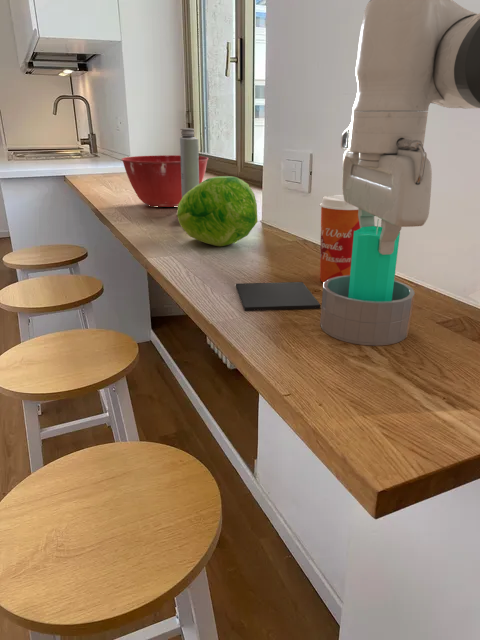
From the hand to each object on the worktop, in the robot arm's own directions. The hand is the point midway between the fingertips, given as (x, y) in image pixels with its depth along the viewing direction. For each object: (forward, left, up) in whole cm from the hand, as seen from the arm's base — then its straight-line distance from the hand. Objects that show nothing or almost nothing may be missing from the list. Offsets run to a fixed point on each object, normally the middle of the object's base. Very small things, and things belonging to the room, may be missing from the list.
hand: (375, 247), depth 66 cm
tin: (0, 0, -12) cm, 12 cm away
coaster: (+10, -14, -12) cm, 21 cm away
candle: (0, 0, -8) cm, 8 cm away
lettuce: (+17, -52, -12) cm, 56 cm away
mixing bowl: (+29, -110, -12) cm, 114 cm away
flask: (+22, -81, -12) cm, 85 cm away
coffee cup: (-3, -22, -12) cm, 25 cm away
